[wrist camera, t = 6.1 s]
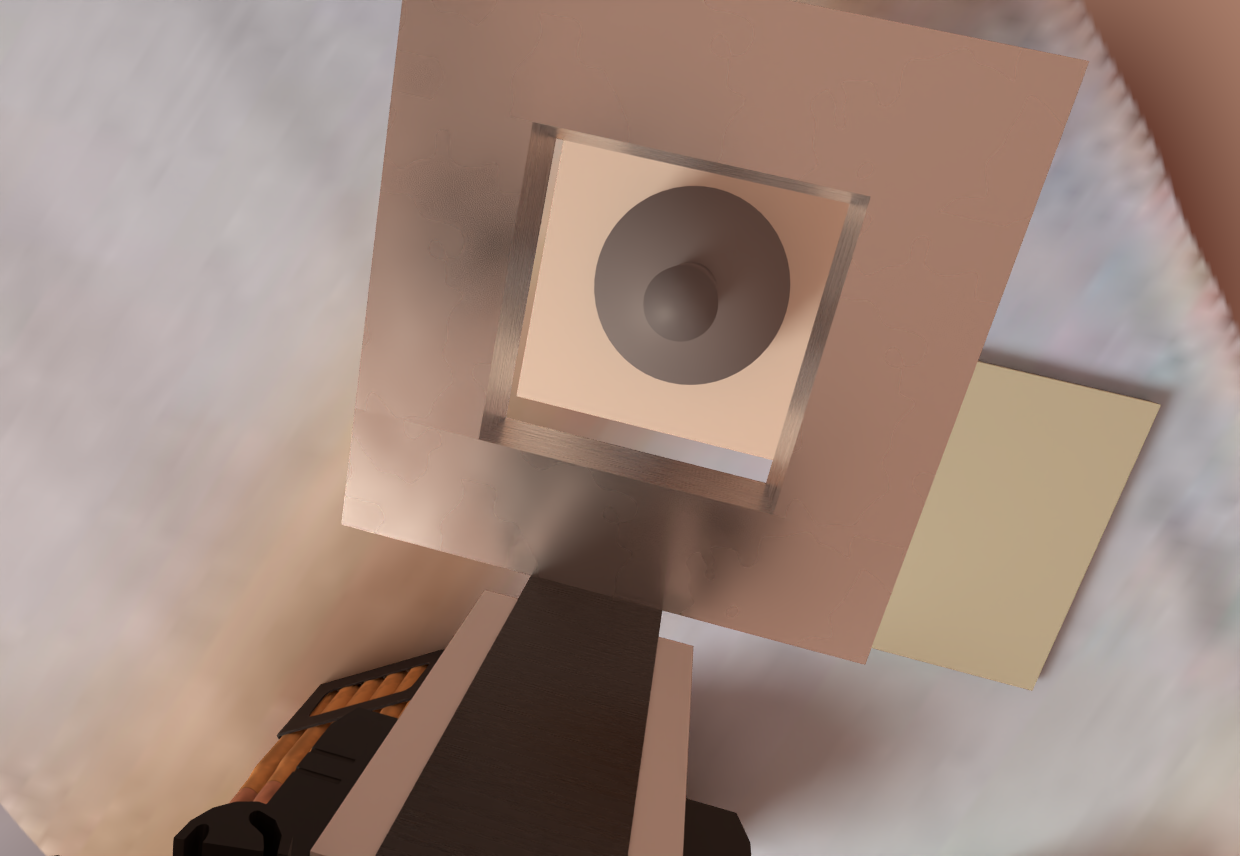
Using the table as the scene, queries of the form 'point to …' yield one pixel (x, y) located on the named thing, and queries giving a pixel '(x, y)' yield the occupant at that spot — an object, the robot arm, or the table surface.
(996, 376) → the mat
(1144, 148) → the table surface
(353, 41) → the table surface
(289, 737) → the ammunition clip
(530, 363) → the stand
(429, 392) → the pink square frame
